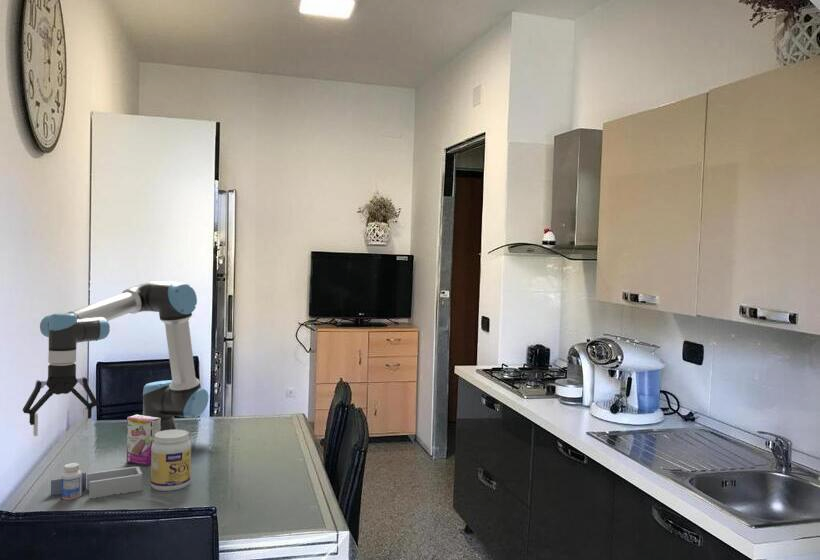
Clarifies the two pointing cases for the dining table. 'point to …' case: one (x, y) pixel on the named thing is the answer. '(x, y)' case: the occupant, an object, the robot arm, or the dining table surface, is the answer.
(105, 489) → the open rectangular tray
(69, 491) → the pill bottle
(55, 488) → the cover flap
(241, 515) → the dining table surface
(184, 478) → the supplement tub
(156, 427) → the candy bar box
